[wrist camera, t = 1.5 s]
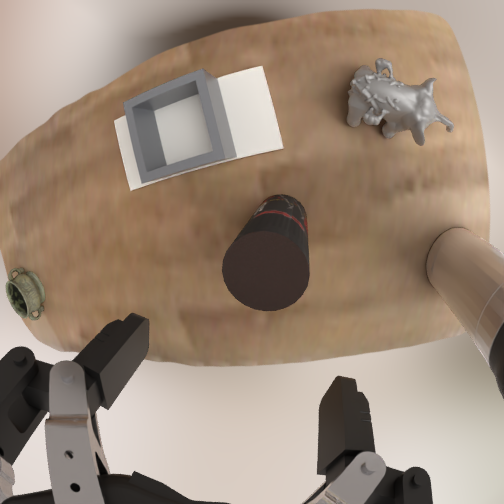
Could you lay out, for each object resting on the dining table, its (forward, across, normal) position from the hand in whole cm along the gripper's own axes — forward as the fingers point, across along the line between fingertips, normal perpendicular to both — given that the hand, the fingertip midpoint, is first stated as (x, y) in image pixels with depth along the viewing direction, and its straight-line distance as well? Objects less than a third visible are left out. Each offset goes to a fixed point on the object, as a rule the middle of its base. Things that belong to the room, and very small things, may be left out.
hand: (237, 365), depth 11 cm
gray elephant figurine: (+24, -9, -17) cm, 31 cm away
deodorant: (+24, 0, 0) cm, 24 cm away
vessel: (+24, +46, +27) cm, 59 cm away
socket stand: (+24, +13, -8) cm, 28 cm away
